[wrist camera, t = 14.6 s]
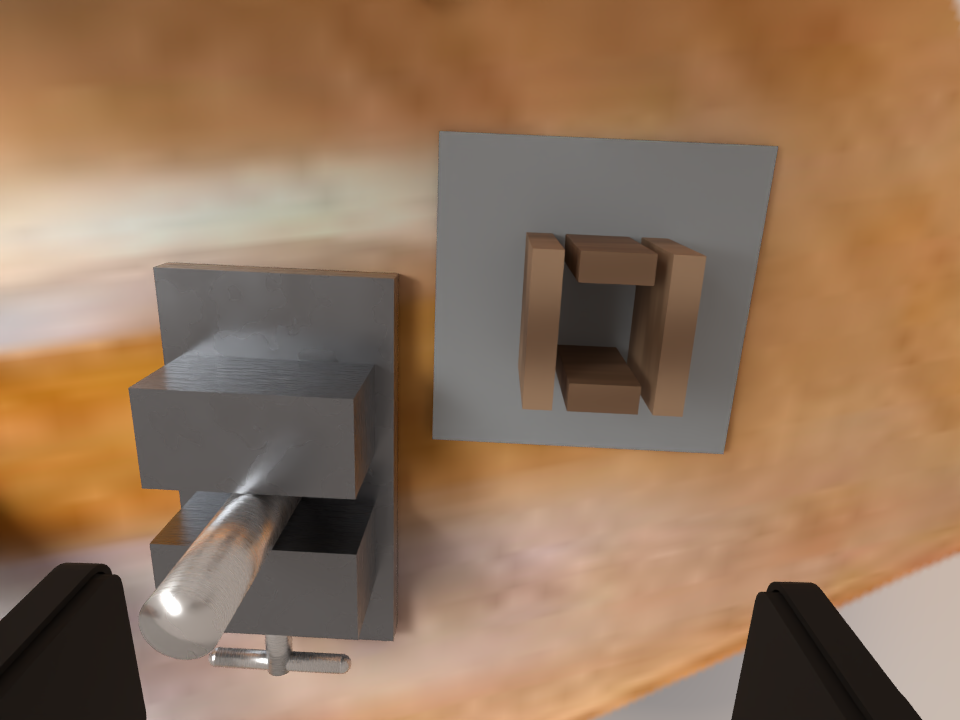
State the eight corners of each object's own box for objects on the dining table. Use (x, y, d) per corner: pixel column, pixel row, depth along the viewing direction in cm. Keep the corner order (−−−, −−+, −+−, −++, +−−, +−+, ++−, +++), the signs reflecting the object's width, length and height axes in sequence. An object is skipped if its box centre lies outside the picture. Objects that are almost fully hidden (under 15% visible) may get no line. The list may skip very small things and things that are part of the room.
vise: (168, 262, 33) (-46, 329, 20) (398, 273, 32) (333, 348, 20) (206, 613, 39) (65, 833, 26) (397, 623, 39) (348, 850, 26)
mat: (440, 131, 30) (439, 130, 30) (772, 146, 30) (778, 146, 30) (433, 434, 35) (432, 439, 35) (719, 449, 35) (723, 454, 34)
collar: (526, 232, 31) (532, 248, 25) (668, 238, 31) (706, 256, 25) (517, 366, 33) (522, 409, 28) (650, 372, 33) (682, 417, 27)
